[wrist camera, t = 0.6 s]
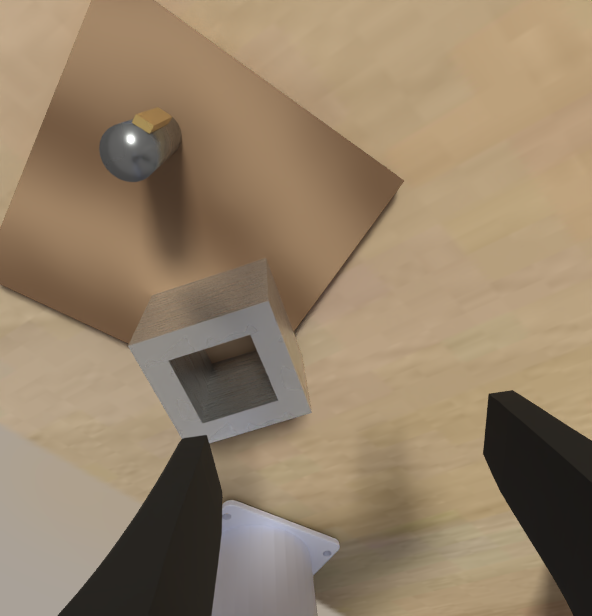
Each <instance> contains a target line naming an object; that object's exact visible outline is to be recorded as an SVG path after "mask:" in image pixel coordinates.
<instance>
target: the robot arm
mask: <svg viewBox="0 0 592 616" xmlns="http://www.w3.org/2000/svg"><path fill="white" fill-rule="evenodd" d="M483 455H484V457H485V459H486V461H487V464H488V466H489V468H490V470H491V473H492V475H493V477H494V479H495V481H496V483H497V485H498V487H499V490H500V492H501V493H502V495H503V497H504V498H505V500H506V502H507V503H508V505H509V507H510V508H511V510H512V512H513V513H514V515H515V516H516V518H517V520H518V521H519V523H520V525H521V526H522V528H523V529H524V531H525V533H526V534H527V536H528V538H529V539H530V541H531V542H532V544H533V546H534V547H535V549H536V550H537V552H538V554H539V555H540V557H541V559H542V560H543V562H544V563H545V565H546V567H547V568H548V570H549V571H550V573H551V575H552V576H553V578H554V580H555V582H556V583H557V585H558V587H559V589H560V590H561V592H562V594H563V596H564V597H565V599H566V601H567V603H568V605H569V607H570V609H571V611H572V613H573V615H574V616H592V441H591V440H590V439H588V438H587V437H585V436H583V435H582V434H580V433H578V432H577V431H575V430H574V429H572V428H571V427H569V426H567V425H566V424H564V423H563V422H561V421H560V420H558V419H557V418H555V417H553V416H552V415H550V414H549V413H547V412H546V411H544V410H543V409H541V408H540V407H538V406H536V405H535V404H533V403H532V402H530V401H529V400H527V399H526V398H524V397H522V396H521V395H519V394H518V393H516V392H514V391H513V390H512V391H505V392H498V393H491V394H489V397H488V408H487V419H486V429H485V440H484V450H483ZM226 513H227V514H226ZM339 548H340V545H339V541H338V540H337V539H335V538H333V537H330V536H327V535H325V534H322V533H319V532H317V531H314V530H312V529H309V528H306V527H304V526H301V525H298V524H296V523H293V522H291V521H288V520H285V519H283V518H280V517H277V516H275V515H272V514H270V513H267V512H264V511H262V510H259V509H256V508H254V507H251V506H249V505H246V504H243V503H241V502H238V501H235V500H228V501H226V502H225V503H223V505H222V489H221V485H220V482H219V478H218V474H217V470H216V467H215V463H214V459H213V456H212V452H211V448H210V444H209V441H208V437H207V435H202V436H195V437H188V438H183V439H182V440H181V441H180V442H179V444H178V446H177V448H176V449H175V451H174V453H173V455H172V457H171V458H170V460H169V462H168V464H167V465H166V467H165V469H164V471H163V472H162V474H161V476H160V477H159V479H158V481H157V482H156V484H155V486H154V487H153V489H152V490H151V492H150V494H149V495H148V497H147V498H146V500H145V502H144V503H143V505H142V506H141V508H140V509H139V511H138V513H137V514H136V516H135V517H134V518H133V520H132V521H131V523H130V524H129V526H128V527H127V529H126V530H125V531H124V533H123V534H122V536H121V537H120V539H119V540H118V541H117V543H116V544H115V546H114V547H113V548H112V550H111V551H110V552H109V554H108V555H107V557H106V558H105V559H104V560H103V562H102V563H101V565H100V566H99V567H98V568H97V569H96V571H95V572H94V573H93V575H92V576H91V577H90V578H89V579H88V581H87V582H86V583H85V584H84V586H83V587H82V588H81V589H80V590H79V592H78V593H77V594H76V595H75V596H74V597H73V599H72V600H71V601H70V602H69V603H68V604H67V605H66V607H65V608H64V609H63V610H62V611H61V612H60V613H59V615H58V616H317V607H316V598H315V590H314V581H313V575H314V574H315V573H316V572H317V571H318V570H319V569H320V568H321V567H322V566H323V565H324V564H325V563H326V562H327V561H328V560H329V559H330V558H331V557H332V556H333V555H334V554H335V553H336V552H337V551H338V550H339Z"/></svg>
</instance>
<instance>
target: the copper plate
mask: <svg viewBox="0 0 592 616" xmlns="http://www.w3.org/2000/svg"><path fill="white" fill-rule="evenodd" d="M157 107H158V108H160V109H161V110H163V111H165V112H166V113H168V114H169V115H171V116H172V117H173V118H174V119H175V120H176V122H177V123H178V125H179V127H180V129H181V134H182V139H181V144H180V146H179V148H178V149H177V150H176V151H175V152H174V153H173V154H172V155H171V156H170V157H169V158H168V159H167V160H166V161H165V162H164V163H163V164H162V165H161V166H159V167H158V168H157V169H156V170H155V171H154V172H153V173H152V174H151V175H150V176H149V177H147V178H146V179H144V180H142V181H138V182H127V181H123V180H120V179H118V178H117V177H115V176H114V175H112V174H111V173H110V172H109V171H108V170H107V169H106V167H105V166H104V164H103V162H102V160H101V157H100V152H99V145H100V140H101V137H102V136H103V134H104V133H105V131H106V130H107V129H109V128H110V127H112V126H114V125H116V124H119V123H122V122H125V121H128V120H131V119H133V118H134V117H135V115H136V114H138V113H141V112H145V111H148V110H151V109H154V108H157ZM403 182H404V180H403V179H401V178H400V177H398V176H397V175H396V174H394V173H393V172H391V171H390V170H389V169H387V168H386V167H384V166H383V165H382V164H380V163H379V162H378V161H376V160H375V159H373V158H372V157H371V156H369V155H368V154H366V153H365V152H364V151H362V150H361V149H360V148H358V147H357V146H355V145H354V144H353V143H351V142H350V141H348V140H347V139H346V138H344V137H343V136H341V135H340V134H339V133H337V132H336V131H335V130H333V129H332V128H330V127H329V126H328V125H326V124H325V123H323V122H322V121H321V120H319V119H318V118H317V117H315V116H314V115H312V114H311V113H310V112H308V111H307V110H305V109H304V108H303V107H301V106H300V105H298V104H297V103H296V102H294V101H293V100H292V99H290V98H289V97H287V96H286V95H285V94H283V93H282V92H280V91H279V90H278V89H276V88H275V87H273V86H272V85H271V84H269V83H268V82H267V81H265V80H264V79H262V78H261V77H260V76H258V75H257V74H255V73H254V72H253V71H251V70H250V69H249V68H247V67H246V66H244V65H243V64H242V63H240V62H239V61H237V60H236V59H235V58H233V57H232V56H230V55H229V54H228V53H226V52H225V51H224V50H222V49H221V48H219V47H218V46H217V45H215V44H214V43H212V42H211V41H210V40H208V39H207V38H206V37H204V36H203V35H201V34H200V33H199V32H197V31H196V30H194V29H193V28H192V27H190V26H189V25H187V24H186V23H185V22H183V21H182V20H181V19H179V18H178V17H176V16H175V15H174V14H172V13H171V12H169V11H168V10H167V9H165V8H164V7H162V6H161V5H160V4H158V3H157V2H156V1H154V0H91V3H90V5H89V8H88V10H87V13H86V15H85V18H84V20H83V23H82V25H81V28H80V30H79V33H78V35H77V38H76V40H75V43H74V45H73V48H72V50H71V53H70V55H69V58H68V60H67V63H66V65H65V68H64V70H63V73H62V75H61V78H60V80H59V83H58V85H57V88H56V90H55V93H54V95H53V98H52V100H51V103H50V105H49V108H48V110H47V113H46V115H45V118H44V120H43V123H42V125H41V128H40V130H39V133H38V135H37V138H36V140H35V143H34V145H33V148H32V150H31V153H30V155H29V158H28V160H27V163H26V165H25V168H24V170H23V173H22V175H21V178H20V180H19V183H18V185H17V188H16V190H15V193H14V195H13V198H12V200H11V203H10V205H9V208H8V210H7V213H6V215H5V218H4V220H3V223H2V225H1V228H0V284H1V285H3V286H5V287H7V288H9V289H12V290H14V291H16V292H18V293H20V294H22V295H24V296H27V297H29V298H31V299H33V300H35V301H37V302H40V303H42V304H44V305H46V306H48V307H50V308H53V309H55V310H57V311H59V312H61V313H63V314H65V315H68V316H70V317H72V318H74V319H76V320H78V321H81V322H83V323H85V324H87V325H89V326H91V327H94V328H96V329H98V330H100V331H102V332H104V333H106V334H109V335H111V336H113V337H115V338H117V339H119V340H122V341H124V342H126V343H128V344H129V343H130V341H131V339H132V336H133V334H134V332H135V330H136V328H137V326H138V324H139V322H140V320H141V317H142V315H143V313H144V311H145V309H146V307H147V305H148V303H149V301H150V298H151V296H152V295H155V294H158V293H161V292H164V291H167V290H170V289H173V288H176V287H179V286H182V285H185V284H188V283H191V282H194V281H197V280H200V279H203V278H206V277H209V276H212V275H215V274H218V273H222V272H225V271H228V270H231V269H234V268H237V267H240V266H243V265H246V264H249V263H252V262H255V261H258V260H261V259H264V258H266V259H267V262H268V265H269V267H270V270H271V273H272V275H273V278H274V281H275V283H276V286H277V289H278V291H279V294H280V297H281V300H282V302H283V305H284V308H285V310H286V313H287V316H288V318H289V321H290V324H291V326H292V329H293V332H294V331H295V329H296V328H297V327H298V325H299V324H300V322H301V321H302V320H303V318H304V317H305V316H306V314H307V313H308V312H309V310H310V309H311V307H312V306H313V305H314V303H315V302H316V301H317V299H318V298H319V297H320V295H321V294H322V292H323V291H324V290H325V288H326V287H327V286H328V284H329V283H330V282H331V280H332V279H333V277H334V276H335V275H336V273H337V272H338V271H339V269H340V268H341V267H342V265H343V264H344V262H345V261H346V260H347V258H348V257H349V256H350V254H351V253H352V252H353V250H354V249H355V247H356V246H357V245H358V243H359V242H360V241H361V239H362V238H363V237H364V235H365V234H366V232H367V231H368V230H369V228H370V227H371V226H372V224H373V223H374V222H375V220H376V219H377V218H378V216H379V215H380V213H381V212H382V211H383V209H384V208H385V207H386V205H387V204H388V203H389V201H390V200H391V198H392V197H393V196H394V194H395V193H396V192H397V190H398V189H399V188H400V186H401V185H402V183H403ZM254 350H257V349H256V347H255V345H254V342H253V340H252V338H251V335H248V336H245V337H241V338H238V339H235V340H232V341H229V342H226V343H222V344H219V345H216V346H213V347H210V348H207V349H205V351H206V353H207V355H208V357H209V359H210V361H211V363H212V364H213V363H216V362H219V361H222V360H226V359H229V358H232V357H235V356H238V355H242V354H245V353H248V352H251V351H254Z"/></svg>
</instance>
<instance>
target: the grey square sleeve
mask: <svg viewBox="0 0 592 616" xmlns="http://www.w3.org/2000/svg"><path fill="white" fill-rule="evenodd" d="M248 335H251V338H252V340H253V342H254V345H255V347H256V349H257V350H254V351H251V352H248V353H245V354H242V355H238V356H235V357H232V358H229V359H226V360H222V361H219V362H216V363H213V364H212V363H211V361H210V359H209V357H208V355H207V353H206V351H205V349H207V348H210V347H213V346H216V345H219V344H222V343H226V342H229V341H232V340H235V339H238V338H241V337H245V336H248ZM128 347H129V349H130V350H131V352H132V354H133V356H134V357H135V359H136V361H137V362H138V364H139V366H140V368H141V369H142V371H143V373H144V374H145V376H146V378H147V380H148V381H149V383H150V385H151V386H152V388H153V390H154V392H155V393H156V395H157V397H158V398H159V400H160V402H161V404H162V405H163V407H164V409H165V410H166V412H167V414H168V416H169V417H170V419H171V421H172V422H173V424H174V426H175V428H176V429H177V431H178V433H179V434H180V436H181V438H182V439H183V438H188V437H195V436H202V435H207V437H208V441H209V443H213V442H216V441H219V440H223V439H226V438H229V437H233V436H236V435H239V434H242V433H246V432H249V431H252V430H256V429H259V428H262V427H266V426H269V425H272V424H276V423H279V422H282V421H286V420H289V419H292V418H296V417H299V416H302V415H306V414H309V413H312V411H311V405H310V399H309V393H308V387H307V381H306V375H305V369H304V363H303V357H302V353H301V351H300V348H299V345H298V342H297V340H296V337H295V334H294V332H293V329H292V326H291V324H290V321H289V318H288V316H287V313H286V310H285V308H284V305H283V302H282V300H281V297H280V294H279V291H278V289H277V286H276V283H275V281H274V278H273V275H272V273H271V270H270V267H269V265H268V262H267V259H266V258H264V259H261V260H258V261H255V262H252V263H249V264H246V265H243V266H240V267H237V268H234V269H231V270H228V271H225V272H222V273H218V274H215V275H212V276H209V277H206V278H203V279H200V280H197V281H194V282H191V283H188V284H185V285H182V286H179V287H176V288H173V289H170V290H167V291H164V292H161V293H158V294H155V295H152V296H151V298H150V301H149V303H148V305H147V307H146V309H145V311H144V313H143V315H142V317H141V320H140V322H139V324H138V326H137V328H136V330H135V332H134V334H133V336H132V339H131V341H130V343H129V345H128Z"/></svg>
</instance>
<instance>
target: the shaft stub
mask: <svg viewBox="0 0 592 616" xmlns="http://www.w3.org/2000/svg"><path fill="white" fill-rule="evenodd" d="M181 139H182V134H181V129H180V127H179V125H178V123H177V122H176V120H175V119H174V118H173V117H172V116H171V115H169V114H168V113H166V112H165V111H163V110H161V109H160V108H158V107H157V108H154V109H151V110H148V111H145V112H141V113H138V114H136V115H135V117H134V118H133V119H131V120H128V121H125V122H122V123H119V124H116V125H114V126H112V127H110V128H109V129H107V130H106V131H105V133H104V134H103V136H102V137H101V140H100V145H99V152H100V157H101V160H102V162H103V164H104V166H105V167H106V169H107V170H108V171H109V172H110V173H111V174H112V175H114V176H115V177H117V178H118V179H120V180H123V181H127V182H138V181H142V180H144V179H146V178H147V177H149V176H150V175H151V174H152V173H153V172H154V171H155V170H156V169H157V168H158V167H159V166H161V165H162V164H163V163H164V162H165V161H166V160H167V159H168V158H169V157H170V156H171V155H172V154H173V153H174V152H175V151H176V150H177V149H178V148H179V146H180V144H181Z"/></svg>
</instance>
